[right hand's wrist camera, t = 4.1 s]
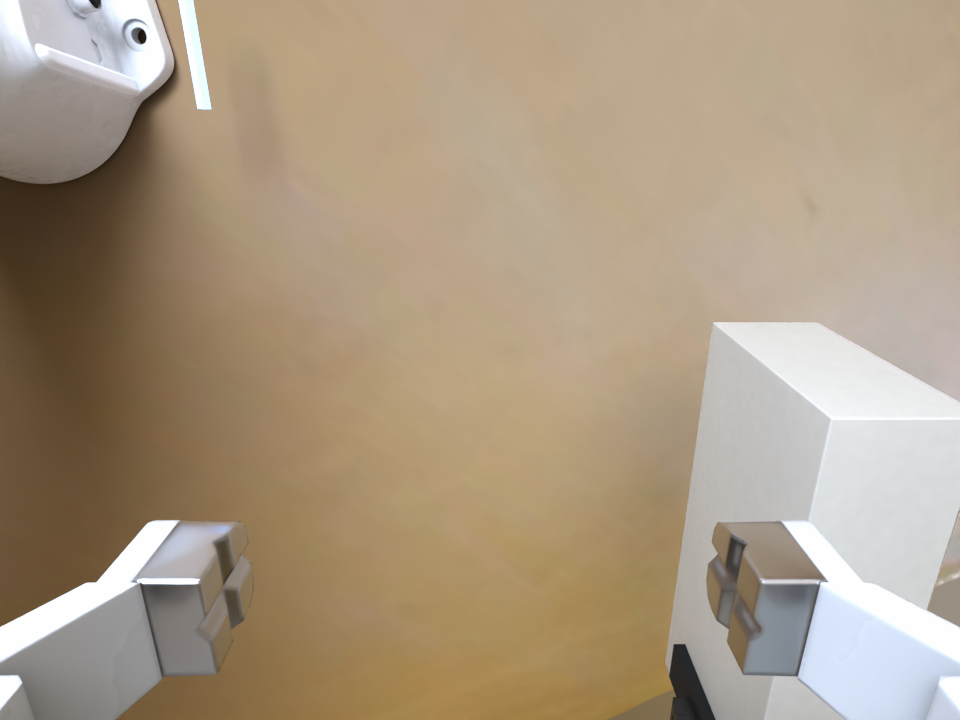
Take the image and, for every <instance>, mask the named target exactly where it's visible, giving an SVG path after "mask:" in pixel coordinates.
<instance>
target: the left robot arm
mask: <svg viewBox="0 0 960 720" xmlns="http://www.w3.org/2000/svg"><path fill="white" fill-rule="evenodd" d="M669 677H670V680H671V683H672V686H673V688H674V691H675V694H676V697H674V698H673V703H672V710H671V717H670V720H716V719H715V717H714V714H713V712H712V709H711V707H710V704H709V702H708V699H707V697H706V694H705V692H704V689H703V687H702V685H701V682H700V680H699V677H698V675H697V672H696V670H695V667H694V665H693V662H692V660H691V657H690V655H689V652H688V650H687V647H686V645H685V644H674V646H673V652H672V659H671V666H670V673H669Z"/></svg>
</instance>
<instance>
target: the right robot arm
mask: <svg viewBox="0 0 960 720" xmlns="http://www.w3.org/2000/svg"><path fill="white" fill-rule="evenodd" d="M179 5H180V10H181V16H182V22H183V28H184V33H185V39H186V45H187V50H188V56H189V62H190V68H191V73H192V79H193V85H194V90H195V96H196V102H197V107H198V109H211V105H210V99H209V94H208V88H207V82H206V76H205V70H204V64H203V58H202V52H201V46H200V40H199V34H198V28H197V22H196V16H195V10H194V4H193V0H179ZM142 29H143V30H144V31H145V33H146V35H147V40H146V42H145V43H144V44H141V43H140V41H139V39H138V33H139V32H140V31H141V30H142ZM173 69H174V57H173V53H172V50H171V47H170V44H169V41H168V38H167V35H166V32H165V29H164V26H163V23H162V20H161V17H160V14H159V11H158V8H157V5H156V2H155V0H0V176H2V177H5V178H8V179H12V180H16V181H20V182H25V183H34V184H53V183H60V182H65V181H70V180H73V179H76V178H79V177H81V176H84V175H86V174H88V173H90V172H91V171H93V170H95V169H96V168H98V167H99V166H100V165H102V164H103V163H104V162H105V161H106V160H107V159H108V158H109V157H110V156H111V155H112V154H113V153H114V152H115V151H116V149H117V148H118V147H119V145H120V144H121V142H122V141H123V139H124V137H125V135H126V134H127V132H128V129H129V127H130V125H131V122H132V120H133V118H134V116H135V113H136V111H137V109H138V108H139V106H140V105H141V103H142V102H143V101H144V100H145V99H146V98H147V97H149V96H150V95H151V94H153V93H154V92H155V91H156V90H157V89H159V88H160V87H161V86H162V85H163V84H164V83H165V82H166V81H167V80H168V79H169V77H170V76H171V74H172V72H173ZM247 544H248V537H247V532H246V527H245V525H244V524H243V523H241V522H240V521H199V520H184V521H181V520H155V521H152V522H149V523H147V524H146V525H145V527H144V528H143V529H142V530H141V531H140V532H139V533H138V535H137V536H136V537H135V538H134V539H133V540H132V542H131V543H130V544H129V545H128V546H127V547H126V549H125V550H124V551H123V552H122V553H121V554H120V556H119V557H118V558H117V559H116V560H115V561H114V562H113V564H112V565H111V566H110V567H109V568H108V569H107V571H106V572H105V573H104V574H103V575H102V576H101V578H100V579H99V580H98V581H97V582H96V583H85V584H83V585H81V586H79V587H77V588H75V589H73V590H71V591H69V592H68V593H66V594H64V595H62V596H60V597H58V598H56V599H54V600H52V601H50V602H48V603H46V604H44V605H42V606H40V607H38V608H37V609H35V610H33V611H31V612H29V613H27V614H25V615H23V616H21V617H19V618H17V619H15V620H13V621H11V622H9V623H7V624H6V625H4V626H2V627H0V720H116V719H117V718H118V717H119V716H120V715H122V714H123V713H124V712H125V711H126V710H127V709H129V708H130V707H131V706H132V705H133V704H134V703H136V702H137V701H138V700H139V699H140V698H141V697H143V696H144V695H145V694H146V693H147V692H149V691H150V690H151V689H152V688H153V687H154V686H156V685H157V684H158V683H159V682H160V681H161V680H162V679H163V678H162V677H163V676H198V675H217V674H218V672H219V670H220V668H221V666H222V664H223V662H224V660H225V657H226V655H227V653H228V651H229V649H230V647H231V645H232V643H233V637H232V631H231V629H233V628H234V627H235V626H237V625H238V624H240V623H241V622H242V621H244V618H245V616H246V614H247V612H248V610H249V607H250V603H251V599H252V594H253V587H254V575H253V568H252V563H251V562H250V561H249V560H248V559H247V558H246V557H245V556H244V555H243V554H242V553H243V551H244V549H245V548H246V546H247ZM712 544H713V546H714V548H715V549H716V551H717V553H718V554H717V555H716V556H715V557H714V558H713V559H712V560H711V561H710V562H709V563H708V569H707V577H706V585H707V596H708V600H709V603H710V607H711V610H712V612H713V614H714V616H715V618H716V621H718V622H719V623H720V624H722V625H723V626H725V627H726V628H727V629H729V631H728V637H727V643H728V645H729V647H730V649H731V651H732V653H733V655H734V657H735V659H736V661H737V663H738V665H739V668H740V670H741V672H742V674H743V675H761V676H796V677H798V678H797V679H798V680H799V681H800V682H801V683H802V684H804V685H805V686H806V687H807V688H808V689H809V690H811V691H812V692H813V693H814V694H815V695H816V696H818V697H819V698H820V699H821V700H822V701H823V702H825V703H826V704H827V705H828V706H829V707H830V708H832V709H833V710H834V711H835V712H836V713H837V714H839V715H840V716H841V717H842V718H843V719H844V720H960V627H958V626H956V625H954V624H952V623H950V622H948V621H947V620H945V619H943V618H941V617H939V616H937V615H935V614H933V613H931V612H929V611H927V610H925V609H923V608H921V607H919V606H918V605H916V604H914V603H912V602H910V601H908V600H906V599H904V598H902V597H900V596H898V595H896V594H894V593H892V592H891V591H889V590H887V589H885V588H883V587H881V586H879V585H877V584H875V583H864V582H863V581H862V580H861V579H860V578H859V576H858V575H857V574H856V573H855V572H854V571H853V569H852V568H851V567H850V566H849V565H848V564H847V563H846V561H845V560H844V559H843V558H842V557H841V556H840V554H839V553H838V552H837V551H836V550H835V549H834V547H833V546H832V545H831V544H830V543H829V542H828V540H827V539H826V538H825V537H824V536H823V535H822V534H821V532H820V531H819V530H818V529H817V528H816V527H815V525H814V524H813V523H811V522H809V521H807V520H780V521H765V522H717V524H716V526H715V528H714V531H713V537H712Z"/></svg>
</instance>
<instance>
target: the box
mask: <svg viewBox="0 0 960 720" xmlns="http://www.w3.org/2000/svg"><path fill="white" fill-rule="evenodd" d="M959 509H960V402H958V401H957V400H955V399H953V398H951V397H949V396H948V395H946V394H944V393H942V392H940V391H939V390H937V389H935V388H933V387H931V386H930V385H928V384H926V383H924V382H922V381H921V380H919V379H917V378H915V377H914V376H912V375H910V374H908V373H906V372H905V371H903V370H901V369H899V368H897V367H896V366H894V365H892V364H890V363H888V362H887V361H885V360H883V359H881V358H880V357H878V356H876V355H874V354H872V353H871V352H869V351H867V350H865V349H863V348H862V347H860V346H858V345H856V344H854V343H853V342H851V341H849V340H847V339H846V338H844V337H842V336H840V335H838V334H837V333H835V332H833V331H831V330H829V329H828V328H826V327H824V326H822V325H820V324H819V323H817V322H714V323H713V326H712V333H711V340H710V347H709V354H708V361H707V369H706V376H705V383H704V390H703V397H702V404H701V411H700V419H699V426H698V433H697V440H696V447H695V454H694V461H693V469H692V476H691V483H690V490H689V497H688V504H687V511H686V519H685V526H684V533H683V540H682V547H681V554H680V561H679V569H678V576H677V583H676V590H675V597H674V604H673V611H672V619H671V626H670V633H669V640H668V647H667V654H666V661H665V664H666V667H667V669H668V672H669V673H670V666H671V659H672V652H673V646H674V644H685V645H686V647H687V650H688V652H689V655H690V657H691V660H692V662H693V665H694V667H695V670H696V672H697V675H698V677H699V680H700V682H701V685H702V687H703V689H704V692H705V694H706V697H707V699H708V702H709V704H710V707H711V709H712V712H713V714H714V717H715V719H716V720H844V719H843V718H842V717H841V716H840V715H839V714H837V713H836V712H835V711H834V710H833V709H832V708H830V707H829V706H828V705H827V704H826V703H825V702H823V701H822V700H821V699H820V698H819V697H818V696H816V695H815V694H814V693H813V692H812V691H811V690H809V689H808V688H807V687H806V686H805V685H804V684H802V683H801V682H800V681H799V680H798V679H797V678H798V677H796V676H761V675H743V674H742V672H741V670H740V668H739V665H738V663H737V661H736V659H735V657H734V655H733V653H732V651H731V649H730V647H729V645H728V643H727V637H728V631H729V629H727V628H726V627H725V626H723V625H722V624H720V623H719V622H718V621H716V618H715V616H714V614H713V612H712V610H711V607H710V603H709V600H708V596H707V585H706V577H707V569H708V563H709V562H710V561H711V560H712V559H713V558H714V557H715V556H716V555H717V554H718V553H717V551H716V549H715V548H714V546H713V544H712V537H713V531H714V528H715V526H716V524H717V522H765V521H780V520H807V521H809V522H811V523H813V524H814V525H815V527H816V528H817V529H818V530H819V531H820V532H821V534H822V535H823V536H824V537H825V538H826V539H827V540H828V542H829V543H830V544H831V545H832V546H833V547H834V549H835V550H836V551H837V552H838V553H839V554H840V556H841V557H842V558H843V559H844V560H845V561H846V563H847V564H848V565H849V566H850V567H851V568H852V569H853V571H854V572H855V573H856V574H857V575H858V576H859V578H860V579H861V580H862V581H863V582H864V583H875V584H877V585H879V586H881V587H883V588H885V589H887V590H889V591H891V592H892V593H894V594H896V595H898V596H900V597H902V598H904V599H906V600H908V601H910V602H912V603H914V604H916V605H918V606H919V607H921V608H923V609H925V610H927V608H928V606H929V602H930V599H931V596H932V593H933V590H934V587H935V584H936V581H937V578H938V575H939V571H940V568H941V565H942V562H943V559H944V556H945V553H946V550H947V547H948V544H949V540H950V537H951V534H952V531H953V528H954V525H955V522H956V519H957V516H958V513H959Z"/></svg>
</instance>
